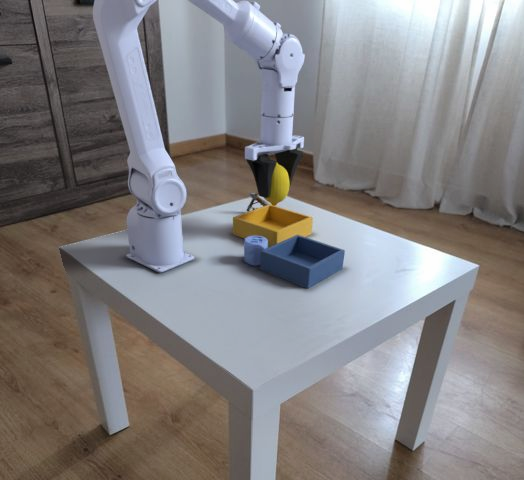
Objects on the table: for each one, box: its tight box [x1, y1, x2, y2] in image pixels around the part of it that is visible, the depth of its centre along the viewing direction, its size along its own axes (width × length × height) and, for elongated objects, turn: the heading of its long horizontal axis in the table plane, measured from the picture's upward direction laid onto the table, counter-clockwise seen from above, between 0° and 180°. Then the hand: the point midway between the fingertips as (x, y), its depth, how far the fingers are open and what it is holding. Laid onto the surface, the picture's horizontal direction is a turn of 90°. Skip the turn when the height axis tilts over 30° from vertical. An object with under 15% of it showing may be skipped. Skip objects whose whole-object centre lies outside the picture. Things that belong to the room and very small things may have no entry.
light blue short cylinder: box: [243, 236, 268, 267], centre depth 86 cm, size 4×4×4 cm
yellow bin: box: [232, 203, 314, 247], centre depth 97 cm, size 11×11×4 cm
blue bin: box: [260, 235, 346, 289], centre depth 84 cm, size 10×10×4 cm
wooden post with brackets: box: [246, 192, 270, 212], centre depth 106 cm, size 2×8×4 cm, turn 69°
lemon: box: [263, 163, 291, 206], centre depth 92 cm, size 6×6×8 cm
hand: (273, 193), depth 93 cm, fingers closed on lemon, 5 cm apart
